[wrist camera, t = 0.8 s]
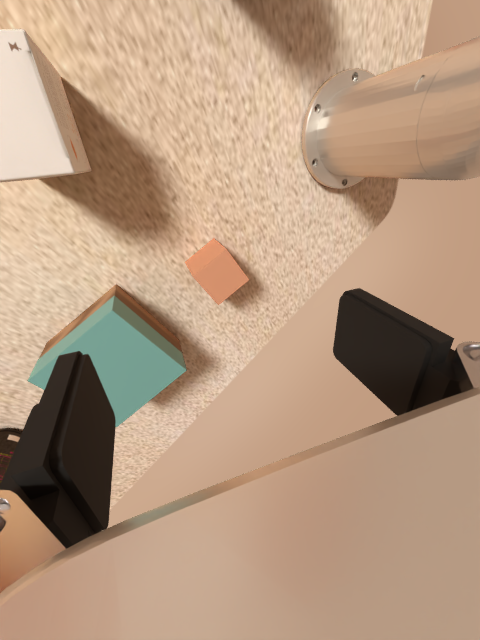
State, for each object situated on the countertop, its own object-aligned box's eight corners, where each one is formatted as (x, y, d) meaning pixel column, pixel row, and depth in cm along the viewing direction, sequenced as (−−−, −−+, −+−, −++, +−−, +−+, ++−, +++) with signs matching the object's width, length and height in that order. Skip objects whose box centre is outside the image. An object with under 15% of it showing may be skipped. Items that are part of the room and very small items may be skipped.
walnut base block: (116, 283, 35) (114, 295, 32) (178, 338, 42) (182, 353, 39) (47, 341, 36) (38, 359, 33) (119, 386, 43) (118, 405, 39)
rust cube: (213, 238, 37) (226, 248, 32) (234, 265, 39) (249, 279, 34) (184, 262, 37) (193, 276, 32) (207, 287, 40) (218, 305, 35)
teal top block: (114, 295, 32) (112, 310, 29) (182, 353, 39) (186, 370, 35) (38, 359, 33) (27, 381, 29) (118, 405, 39) (116, 427, 36)
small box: (-10, 76, 24) (-93, 22, 15) (61, 73, 25) (22, 23, 16) (34, 179, 28) (-11, 184, 19) (93, 172, 29) (76, 174, 20)
